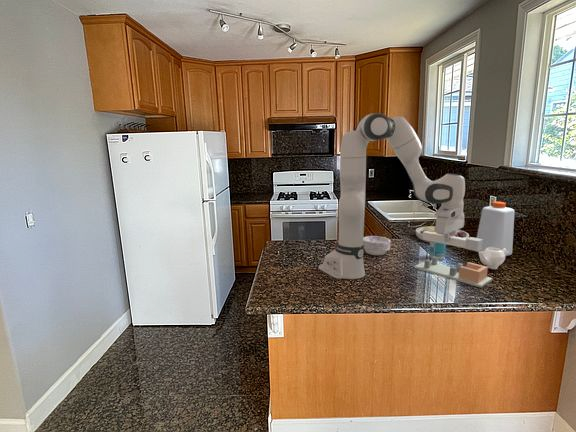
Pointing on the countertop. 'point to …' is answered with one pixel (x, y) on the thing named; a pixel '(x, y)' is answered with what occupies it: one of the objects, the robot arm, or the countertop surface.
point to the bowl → (433, 229)
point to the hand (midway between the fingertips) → (449, 240)
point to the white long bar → (455, 241)
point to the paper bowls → (376, 245)
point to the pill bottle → (437, 250)
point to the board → (458, 272)
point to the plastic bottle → (497, 227)
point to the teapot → (492, 257)
